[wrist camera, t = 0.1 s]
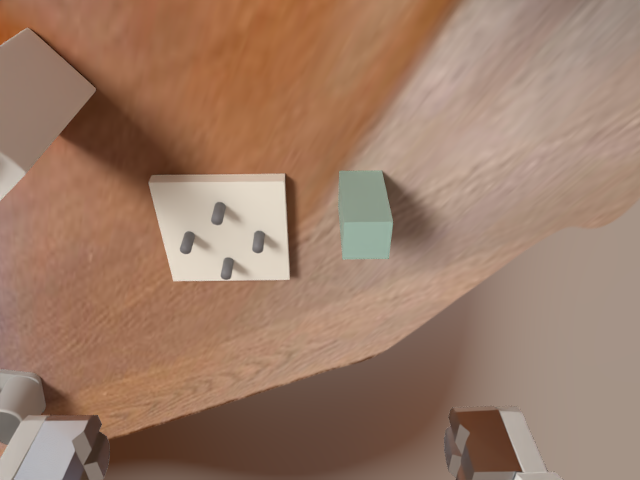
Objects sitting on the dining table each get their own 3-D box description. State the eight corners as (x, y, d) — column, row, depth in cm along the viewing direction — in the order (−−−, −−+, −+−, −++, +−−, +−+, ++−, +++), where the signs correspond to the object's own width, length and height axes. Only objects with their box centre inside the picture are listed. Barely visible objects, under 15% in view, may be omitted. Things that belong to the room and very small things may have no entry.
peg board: (151, 174, 52) (141, 196, 49) (284, 173, 52) (283, 194, 49) (176, 272, 61) (169, 296, 58) (289, 271, 61) (288, 294, 58)
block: (339, 171, 52) (344, 222, 45) (381, 170, 52) (393, 221, 45) (338, 205, 55) (342, 259, 48) (378, 205, 55) (388, 258, 48)
